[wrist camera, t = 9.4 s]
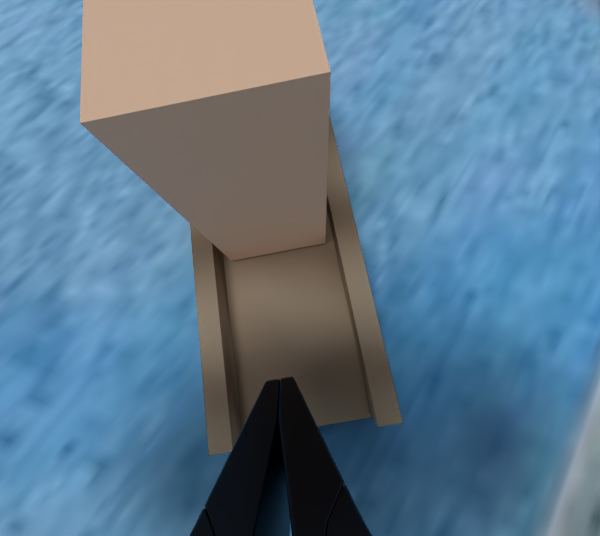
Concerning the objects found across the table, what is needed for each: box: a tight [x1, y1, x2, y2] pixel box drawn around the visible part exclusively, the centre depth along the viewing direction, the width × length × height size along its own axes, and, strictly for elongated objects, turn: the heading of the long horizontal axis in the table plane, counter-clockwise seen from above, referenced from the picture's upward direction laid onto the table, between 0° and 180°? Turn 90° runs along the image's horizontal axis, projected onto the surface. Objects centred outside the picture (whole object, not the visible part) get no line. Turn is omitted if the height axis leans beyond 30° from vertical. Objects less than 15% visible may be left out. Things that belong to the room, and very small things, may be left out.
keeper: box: [80, 0, 331, 261], centre depth 11 cm, size 5×5×10 cm
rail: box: [190, 116, 403, 456], centre depth 15 cm, size 17×8×2 cm, turn 10°
